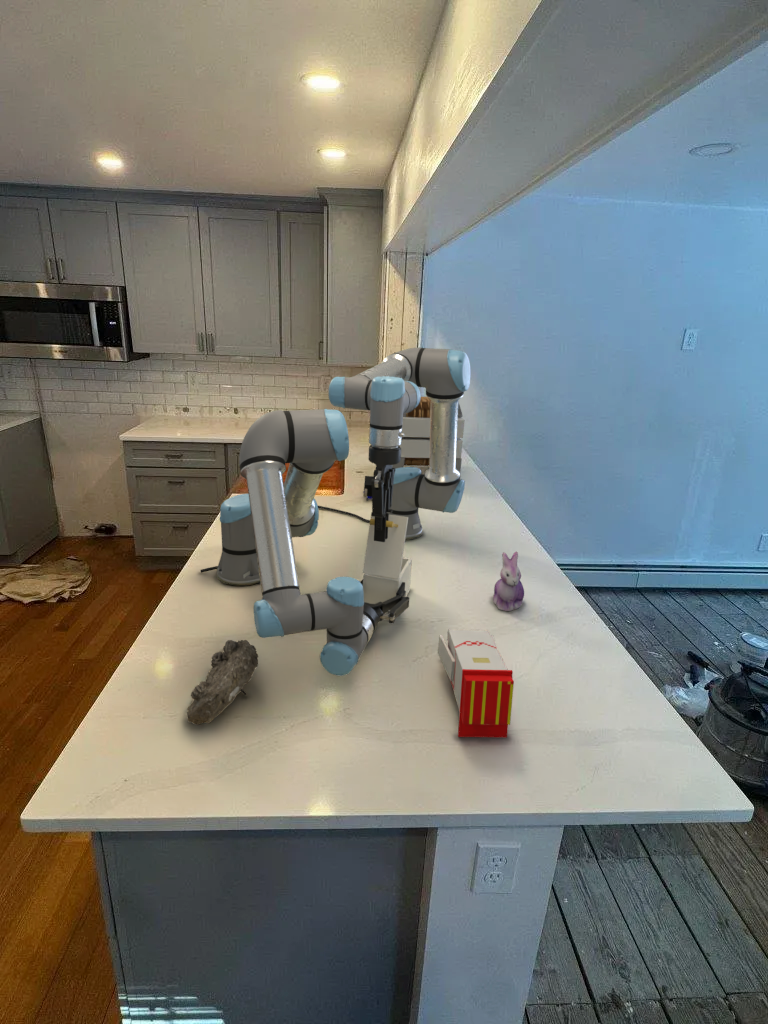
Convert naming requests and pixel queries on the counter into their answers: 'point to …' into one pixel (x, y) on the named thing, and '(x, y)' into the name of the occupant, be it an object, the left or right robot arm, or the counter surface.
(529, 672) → the counter surface
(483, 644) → the toy
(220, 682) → the fossil
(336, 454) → the left robot arm
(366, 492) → the figurine character
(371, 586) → the chest
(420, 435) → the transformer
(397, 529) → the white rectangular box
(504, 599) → the figurine
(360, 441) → the counter surface
